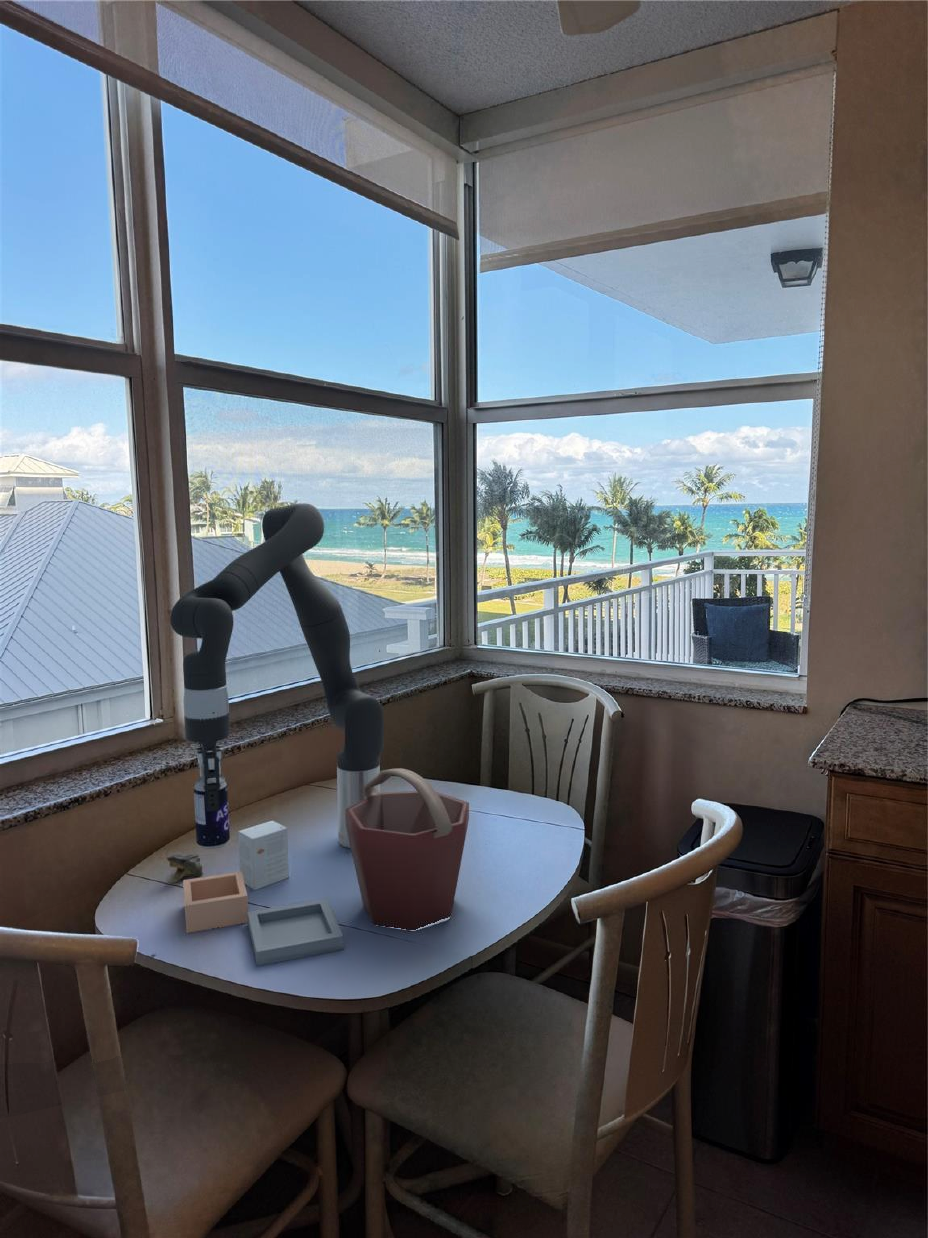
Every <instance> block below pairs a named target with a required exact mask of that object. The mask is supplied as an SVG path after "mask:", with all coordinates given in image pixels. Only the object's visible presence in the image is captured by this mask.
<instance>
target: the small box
mask: <svg viewBox="0 0 928 1238" xmlns="http://www.w3.org/2000/svg"><path fill="white" fill-rule="evenodd" d="M288 833H289V832H288V828H287V827H286V826H284V825H282V824H280V823H278V822H276V821H275V820H270V821H266V822H263V823H260V824H257V825H253V826H250V827H247V828H245V829H242V830H238V831H237V839H238V840H237V841H238V862H239V863H238V864H239V865H238V866H239V872H241V871H242V875H243V879H244V884H245V886H247V887H248V888H250V889H252V890H254V891H256V890H259V889H263V888H265V887H268V886H270V885H272V884H275V883H278V882H280V881H283V880H286V879H289V878H290V867H289V866H290V865H289V863H290V862H289V860H290V859H289V841H288V839H289V838H288V835H289V834H288Z"/></svg>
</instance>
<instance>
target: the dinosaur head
mask: <svg viewBox="0 0 928 1238" xmlns="http://www.w3.org/2000/svg"><path fill="white" fill-rule="evenodd" d="M166 860H167V861H168V862H169V867H170V868H174V869H175V868H176V871H175V872H174V874H173V875H172V877H171V878H170V882H171V883H176V882H179V881H181V880H182V879H183V878H184V877H186V876H187V877H189V876H197V877H200V876H201V877H203V875H204V873H203V866H202V865H201V858H200V856H199V854H198V853H192V854H186V855H180V854H174V855H171V856H168V857H166Z"/></svg>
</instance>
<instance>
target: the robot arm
mask: <svg viewBox="0 0 928 1238" xmlns="http://www.w3.org/2000/svg"><path fill="white" fill-rule="evenodd" d="M261 529H262V534H263V539H264V541H263V542H262V543H260V544H259V545H256V546H255V547H254V548H252V549H250V550H248V551H246V552H245V553H243V554H241V555H239V556H238V557H236V558H235V559H234V560H232V561H231V562H230V563H229V564H228V565H226V567H225V568H223V570H221V571H220V572H219V573H218V574H217V575H216V576H215V577H214V578H213V579H211V580H208V581H207V582H205V583H203V584H200V585H199V586H197V587H195V588H194V589H192V590H190V591H188V592H186V593H185V594H184V595H182V596H181V597H180V598H179V599H178V600H177V601H176V602H175V604H174V605H173V607H172V609H171V611H170V616H169V617H170V618H169V620H170V621H169V622H170V627H171V628H172V630H173V631H174V633H176V634H177V635H179V636H180V637H183V638H189V639H201V644H200V649H199V650H198V651H192V652H190V653H188V654H186V655H185V657H184V658H183V663H182V669H183V670H182V672H183V675H182V676H183V700H182V701H183V716H184V717H183V719H184V735H185V736H184V737H185V739H186V740H187V742H190V743H195V744H199V747H196V757H197V761H198V769H199V775H200V778H201V777H202V778H203V779H204V786H203V789H204V791H205V802H206V810H207V811H208V812H210V811H217V810H219V791H218V790H219V789H220V787H221V786H220V780H219V776H221V774H222V768H221V767H222V766H221V759H222V749H221V746H220V745H219V744H218V745H217V742H219V741H223V740H226V739H228V738H229V736H230V735H231V725H230V722H231V721H230V703H229V701H230V700H229V699H230V698H229V693H228V688H227V673H226V672H227V671H226V670H227V668H226V661H227V657H228V653H229V647H230V642H231V638H232V634H233V630H234V615H233V612H234V611H237V610H239V609H241V608H242V607H243V606H244V605H245V604H247V602H249V600H251V599H252V598H253V597H254V595H256V594H257V593H258V591H259V590H260V589H262V587H263V586H265V584H267V583H268V581H270V580H271V579H272V578H273V577H274V576H276V575H277V574H278V573H280V576H281V577H282V581H283V582H284V585H285V587H286V590H287V592H288V595H289V597H290V600H291V603H292V605H293V607H294V610H295V614H296V616H297V619H298V622H299V625H300V628H301V632H302V633H303V636H304V639H305V642H306V644H307V647H308V649H309V652H310V654H311V658H312V660H313V663H314V665H315V667H316V670H317V673H318V675H319V677H320V681H321V684H322V687H323V692H324V696H325V700H326V701H325V702H326V705H327V708H328V709H327V710H328V713H329V716H330V719H331V721H332V722H333V724H334V726H335V727H336V728H338V729H339V730H340V731H342V732H344V746H343V747H344V748H343V749H341V750H340V751H338V753H337V755H336V775H337V776H336V777H337V778H336V779H337V783H336V784H337V822H338V823H337V825H338V828H337V829H338V830H337V831H338V832H337V833H338V834H337V836H338V843H339V845H340V846H342V847H344V848H348V849H351V847H350V843H349V838H348V833H347V829H346V819H345V809H347V808H349V807H351V806H353V805H355V804H357V803H359V802H361V801H363V800H365V799H366V798H365V796H364V793H363V787H364V785H366V784H367V783H368V782H369V781H371V780H372V779H373V778H375V777H376V776H377V775H378V774H379V773H380V772H381V769H380V767H381V764H380V761H381V755H382V753H383V749H384V733H385V732H384V729H385V725H384V724H385V720H384V719H385V717H384V711H383V706H382V704H381V702H380V701H379V700H378V698H376V697H374V696H372V695H369V694H367V693H364V692H362V690H361V688H360V687H359V684H358V683H357V680H356V677H355V675H354V673H353V669H352V665H351V656H350V654H351V653H350V652H351V634H350V628H349V625H348V623H347V620H346V616H345V613H344V611H343V608H342V606H341V604H340V603H341V602H339V599H337V597H336V596H335V595H334V594H333V592H332V591H330V590H329V588H328V587H326V586H325V584H323V582H321V580H319V579H318V578H317V577H316V576H315V574H314V573H313V572H312V570H311V569H310V568H309V566H308V564H307V562H306V559H305V558H304V554H305V553H307V552H308V551H310V550H311V549H313V548H314V547H315V546H317V545H318V544H319V543H320V542H321V540H322V539H323V537H324V532H325V522H324V518H323V514H322V513H321V512H320V510H319V509H318V508H317V507H316V506H315V505H313V504H310V503H307V502H306V503H305V502H303V503H302V502H301V503H299V502H298V503H293V504H289V505H284V506H278V507H275V508H271V509H269V510H267V511H266V512H265V513H264V514H263V517H262V521H261ZM209 778H215V780H216V783H208V782H207V780H208V779H209ZM374 787H375V789H376V791H377V792H378V793H381V784H379V785H376V786H374Z"/></svg>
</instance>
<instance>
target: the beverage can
mask: <svg viewBox="0 0 928 1238" xmlns="http://www.w3.org/2000/svg"><path fill="white" fill-rule="evenodd" d="M219 780H220V786H221V787H220V789H219V790H218V791H219V810H217V811H210V812H208V811H207V810H206V802H205V791H204V789H203V786H204V779H203V778H202V777H201V776H200V777H199V778H197V779H196V780H195V785H194V787H193V799H194V819H195V835H196V836H195V839H196V845H198V846H200V847H201V848H202V849H203V850H208V851H209V850H216V849H221V848H223V847H225V846H226V844H227V843H228V842H229V840H230V837H231V836H230V835H231V833H230V813H229V811H230V810H229V794H228V793H229V792H228V784H227V782H226V780H225V777H224V776H221V775H220V776H219ZM207 782H208V783H216V780H215V778H209V779H208V780H207Z"/></svg>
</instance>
